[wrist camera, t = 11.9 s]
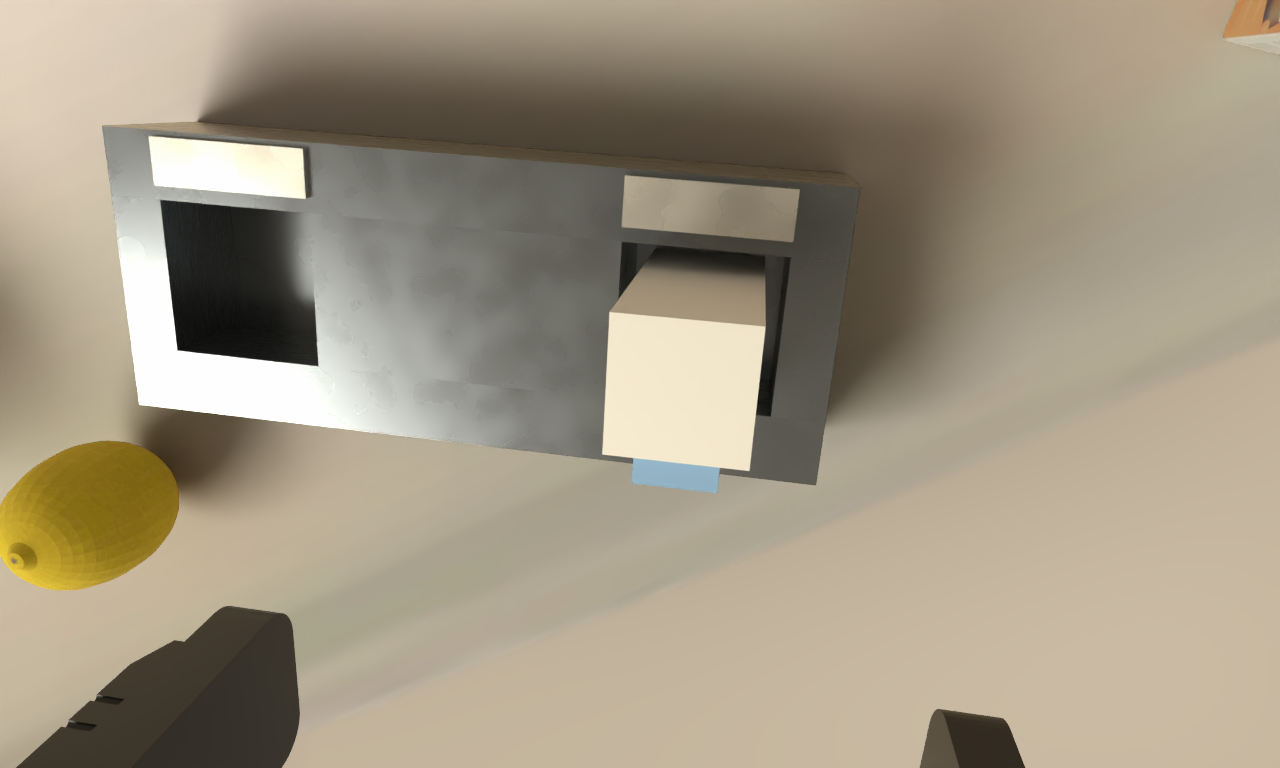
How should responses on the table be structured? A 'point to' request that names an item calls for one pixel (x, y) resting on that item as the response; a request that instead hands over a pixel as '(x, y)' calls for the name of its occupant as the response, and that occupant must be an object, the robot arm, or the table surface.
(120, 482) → the lemon
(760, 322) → the plug
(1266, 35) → the small box
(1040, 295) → the table surface
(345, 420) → the panel
